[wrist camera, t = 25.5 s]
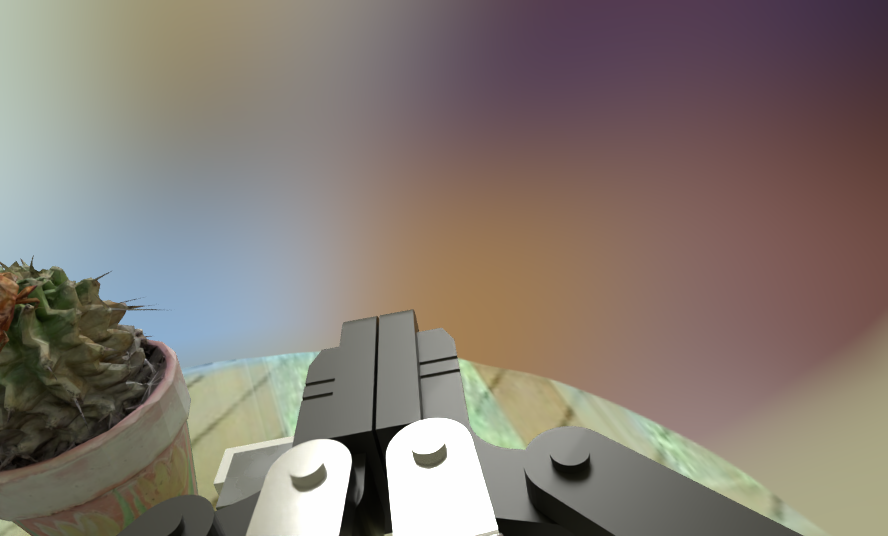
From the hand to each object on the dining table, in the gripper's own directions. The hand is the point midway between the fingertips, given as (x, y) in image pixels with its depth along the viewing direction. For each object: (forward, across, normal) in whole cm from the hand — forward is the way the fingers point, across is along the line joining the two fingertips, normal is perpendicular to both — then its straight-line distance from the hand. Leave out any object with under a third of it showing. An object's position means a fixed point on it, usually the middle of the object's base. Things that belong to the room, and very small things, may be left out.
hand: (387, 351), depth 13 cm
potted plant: (+27, +28, +29) cm, 48 cm away
